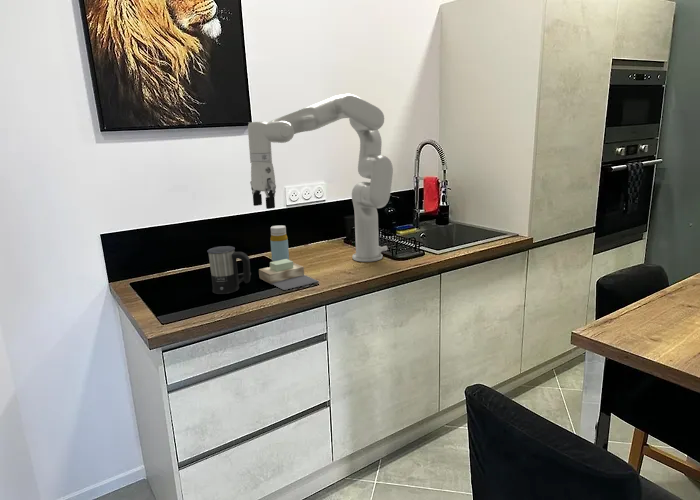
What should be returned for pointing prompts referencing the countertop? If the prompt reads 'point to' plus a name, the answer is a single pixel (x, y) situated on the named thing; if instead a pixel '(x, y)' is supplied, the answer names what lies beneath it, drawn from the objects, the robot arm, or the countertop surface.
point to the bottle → (279, 243)
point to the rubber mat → (294, 282)
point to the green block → (281, 265)
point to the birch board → (280, 273)
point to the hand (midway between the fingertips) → (264, 206)
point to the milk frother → (227, 269)
